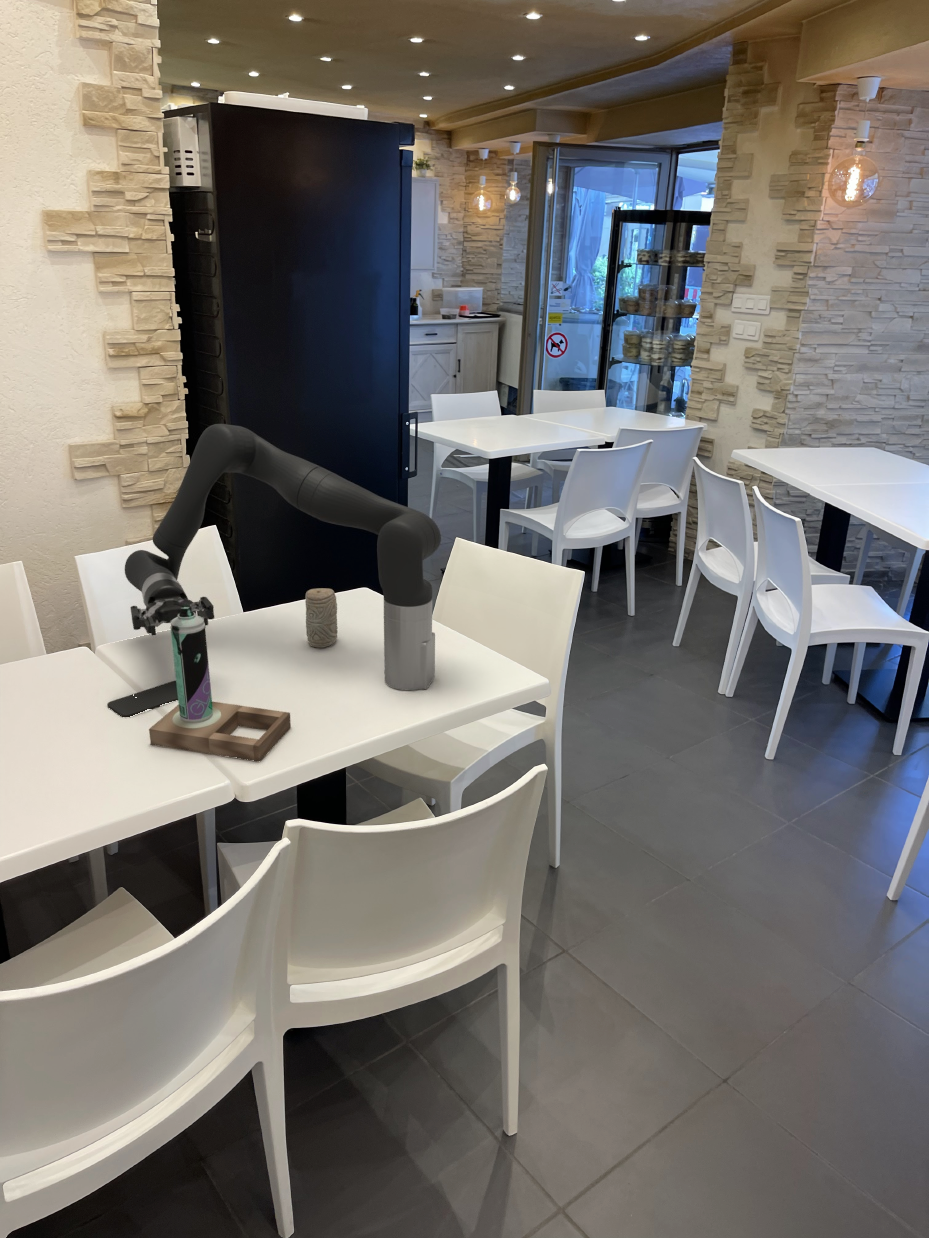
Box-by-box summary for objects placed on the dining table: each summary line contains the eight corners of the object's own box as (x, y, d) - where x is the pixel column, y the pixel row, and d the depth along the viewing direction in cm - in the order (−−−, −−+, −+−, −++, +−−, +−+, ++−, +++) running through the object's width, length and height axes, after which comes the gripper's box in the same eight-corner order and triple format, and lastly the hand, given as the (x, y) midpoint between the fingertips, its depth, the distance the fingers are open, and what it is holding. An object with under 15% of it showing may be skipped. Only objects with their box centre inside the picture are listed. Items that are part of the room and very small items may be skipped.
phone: (199, 690, 169) (124, 716, 159) (199, 694, 170) (125, 720, 159) (178, 678, 174) (104, 702, 164) (179, 682, 174) (105, 707, 164)
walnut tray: (290, 727, 158) (289, 711, 157) (259, 762, 147) (258, 745, 146) (188, 712, 162) (186, 696, 161) (150, 744, 151) (148, 728, 150)
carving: (301, 648, 190) (298, 595, 185) (316, 635, 196) (314, 583, 192) (328, 652, 188) (326, 598, 183) (343, 639, 195) (341, 587, 190)
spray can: (205, 724, 152) (194, 614, 144) (174, 721, 152) (162, 611, 145) (218, 710, 157) (208, 602, 149) (188, 707, 157) (177, 600, 150)
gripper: (122, 583, 168) (134, 613, 155) (200, 574, 174) (217, 601, 160) (127, 620, 171) (139, 652, 157) (203, 610, 177) (221, 640, 163)
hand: (178, 626), depth 159 cm, fingers open, 8 cm apart
